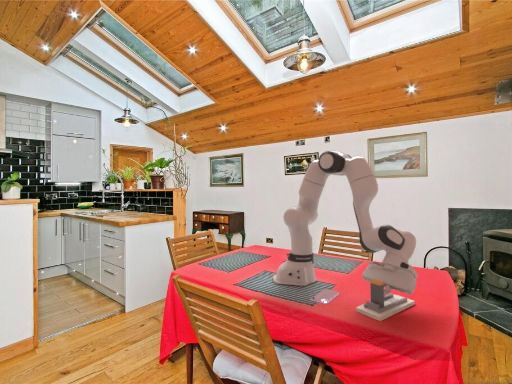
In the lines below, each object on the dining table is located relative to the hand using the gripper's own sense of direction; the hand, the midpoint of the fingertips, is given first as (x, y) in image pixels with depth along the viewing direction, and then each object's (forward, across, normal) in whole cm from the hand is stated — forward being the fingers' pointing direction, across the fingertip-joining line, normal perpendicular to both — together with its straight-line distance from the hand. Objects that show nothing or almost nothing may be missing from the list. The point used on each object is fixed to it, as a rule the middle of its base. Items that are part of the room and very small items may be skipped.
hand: (379, 295), depth 107 cm
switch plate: (+1, 0, +7) cm, 7 cm away
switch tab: (+4, 0, +2) cm, 4 cm away
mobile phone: (+9, -22, 0) cm, 24 cm away
